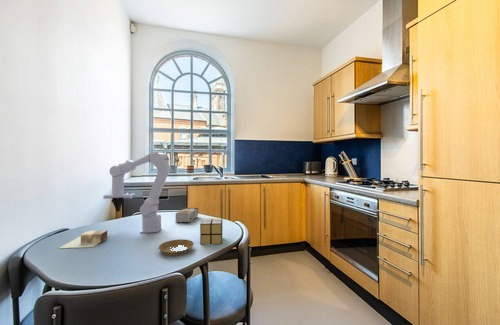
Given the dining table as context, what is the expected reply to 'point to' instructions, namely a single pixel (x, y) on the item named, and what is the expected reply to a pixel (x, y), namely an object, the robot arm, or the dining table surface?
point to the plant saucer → (174, 243)
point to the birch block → (94, 236)
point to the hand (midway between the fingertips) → (118, 211)
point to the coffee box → (186, 215)
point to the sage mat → (78, 244)
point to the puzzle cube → (211, 231)
